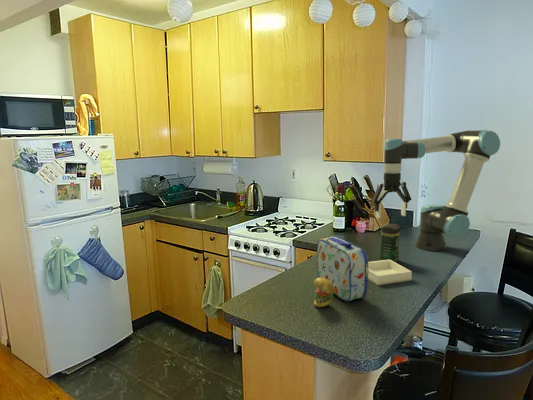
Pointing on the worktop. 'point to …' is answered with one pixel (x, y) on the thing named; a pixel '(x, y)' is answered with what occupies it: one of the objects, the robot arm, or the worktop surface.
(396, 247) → the coffee jar
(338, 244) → the lunch box
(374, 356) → the worktop surface
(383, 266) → the caddy
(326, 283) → the hamburger
